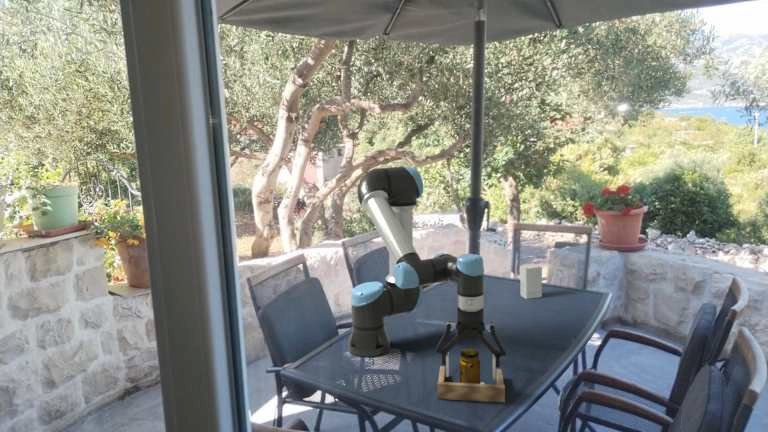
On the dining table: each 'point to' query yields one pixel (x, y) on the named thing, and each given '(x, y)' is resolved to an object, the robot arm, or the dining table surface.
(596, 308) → the dining table surface
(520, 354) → the dining table surface
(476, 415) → the dining table surface
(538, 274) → the skincare box
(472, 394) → the bay
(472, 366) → the condiment
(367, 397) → the dining table surface
